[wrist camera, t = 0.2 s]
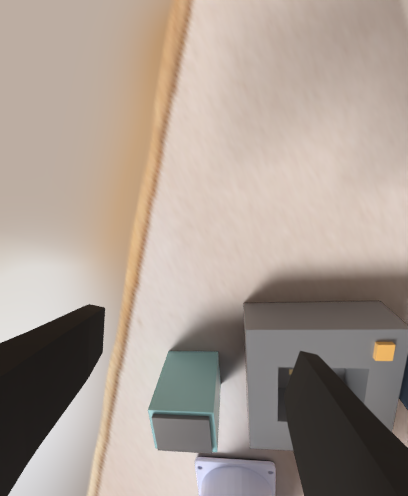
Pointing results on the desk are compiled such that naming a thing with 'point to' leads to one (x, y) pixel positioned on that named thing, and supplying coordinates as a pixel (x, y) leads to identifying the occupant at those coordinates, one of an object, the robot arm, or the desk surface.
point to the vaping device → (404, 386)
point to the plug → (187, 403)
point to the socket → (327, 348)
